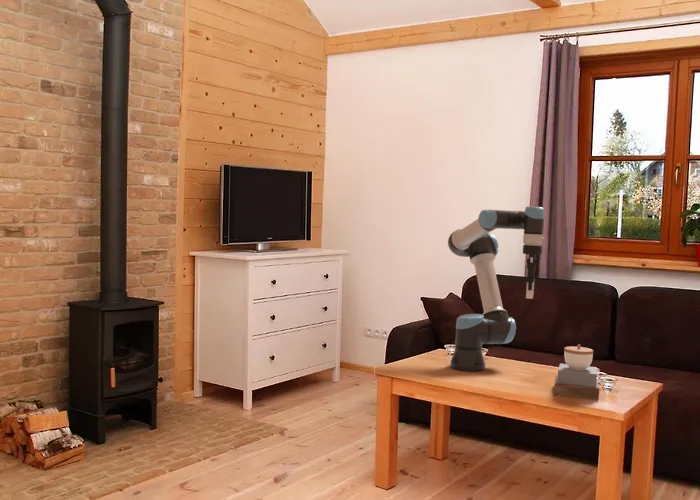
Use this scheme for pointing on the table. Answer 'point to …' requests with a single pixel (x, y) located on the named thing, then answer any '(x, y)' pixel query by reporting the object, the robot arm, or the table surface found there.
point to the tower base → (576, 390)
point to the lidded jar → (578, 357)
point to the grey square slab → (577, 376)
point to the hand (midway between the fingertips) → (529, 296)
